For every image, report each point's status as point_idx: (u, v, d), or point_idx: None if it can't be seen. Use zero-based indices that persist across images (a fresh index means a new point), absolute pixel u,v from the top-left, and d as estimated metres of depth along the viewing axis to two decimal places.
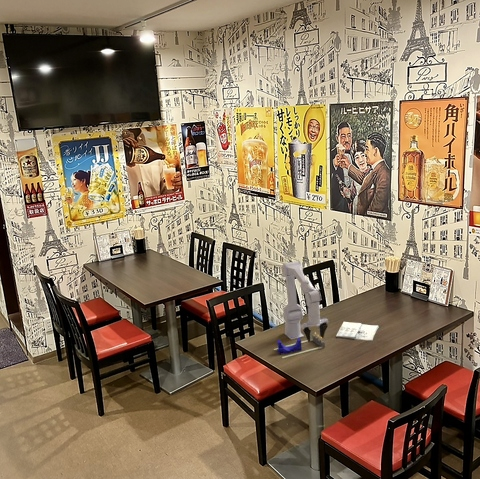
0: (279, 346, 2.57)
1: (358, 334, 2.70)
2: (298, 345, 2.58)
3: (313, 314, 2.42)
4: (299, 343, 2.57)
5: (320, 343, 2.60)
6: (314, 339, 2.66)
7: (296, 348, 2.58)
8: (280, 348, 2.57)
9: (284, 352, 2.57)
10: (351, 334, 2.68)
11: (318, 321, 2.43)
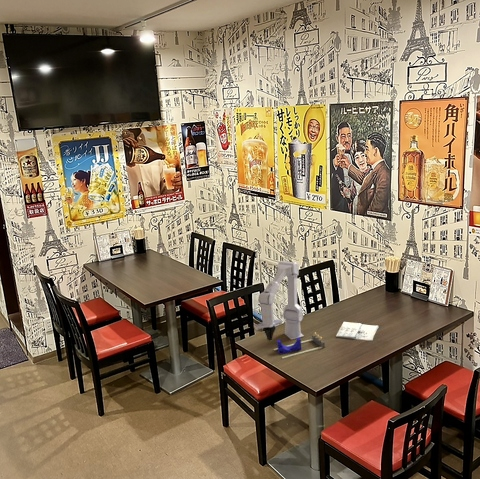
0: (279, 346, 2.58)
1: (358, 334, 2.70)
2: (298, 344, 2.58)
3: (262, 314, 2.48)
4: (299, 342, 2.58)
5: (320, 343, 2.60)
6: (314, 339, 2.66)
7: (296, 347, 2.58)
8: (280, 348, 2.57)
9: (284, 352, 2.57)
10: (351, 334, 2.68)
11: (271, 322, 2.48)
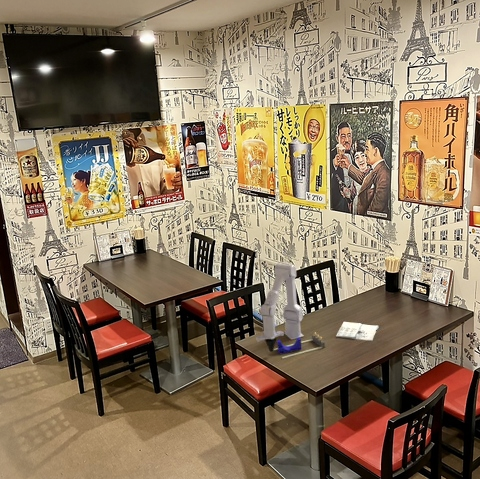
0: (279, 346, 2.58)
1: (358, 334, 2.70)
2: (298, 344, 2.58)
3: (264, 326, 2.50)
4: (299, 342, 2.58)
5: (320, 343, 2.60)
6: (314, 339, 2.66)
7: (296, 347, 2.59)
8: (280, 348, 2.57)
9: (284, 352, 2.57)
10: (351, 334, 2.68)
11: (273, 334, 2.50)
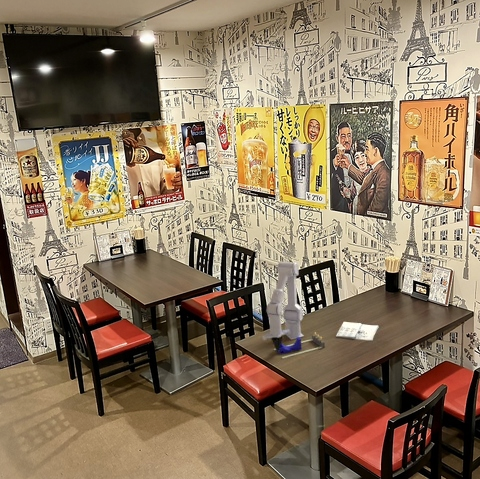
0: None
1: (358, 334, 2.70)
2: (298, 344, 2.59)
3: (270, 325, 2.51)
4: (299, 342, 2.58)
5: (320, 343, 2.60)
6: (314, 339, 2.66)
7: (296, 347, 2.59)
8: (280, 348, 2.57)
9: (284, 351, 2.57)
10: (351, 334, 2.68)
11: (279, 332, 2.51)
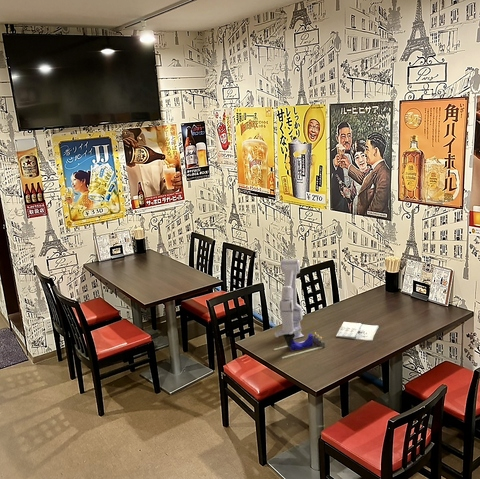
0: None
1: (358, 334, 2.70)
2: (310, 341, 2.61)
3: (284, 322, 2.52)
4: (311, 339, 2.60)
5: (320, 343, 2.60)
6: (314, 339, 2.66)
7: (308, 344, 2.61)
8: (292, 344, 2.59)
9: (296, 348, 2.59)
10: (351, 334, 2.68)
11: (291, 329, 2.53)
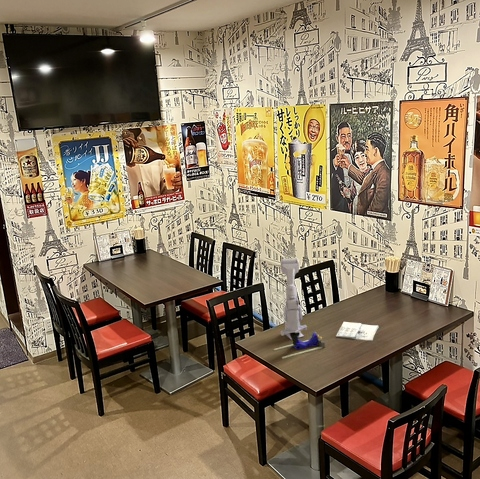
0: None
1: (358, 334, 2.70)
2: (314, 340, 2.61)
3: (290, 321, 2.53)
4: (315, 338, 2.61)
5: (320, 343, 2.60)
6: None
7: (312, 343, 2.62)
8: None
9: (300, 347, 2.60)
10: (351, 334, 2.68)
11: (297, 327, 2.54)
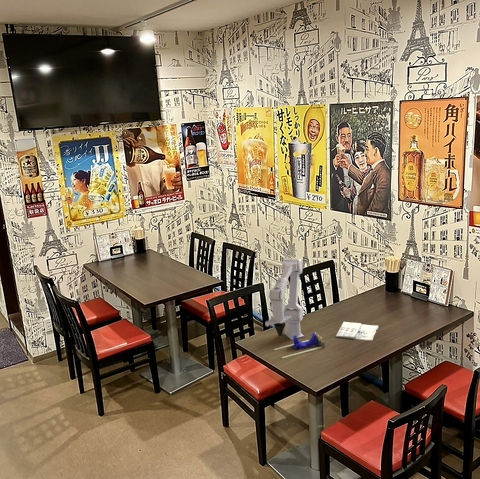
0: (295, 342, 2.61)
1: (358, 334, 2.70)
2: (314, 340, 2.61)
3: (273, 311, 2.51)
4: (315, 338, 2.61)
5: (320, 343, 2.60)
6: None
7: (312, 343, 2.62)
8: (296, 343, 2.60)
9: (300, 347, 2.60)
10: (351, 334, 2.68)
11: (282, 318, 2.52)
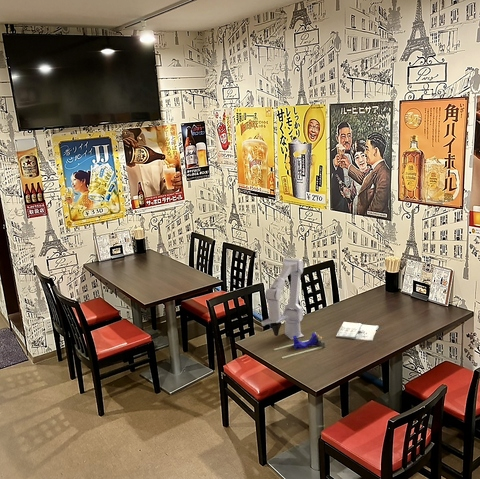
0: (295, 342, 2.61)
1: (358, 334, 2.70)
2: (314, 340, 2.62)
3: (269, 310, 2.52)
4: (315, 338, 2.61)
5: (320, 343, 2.60)
6: None
7: (312, 343, 2.62)
8: (296, 343, 2.60)
9: (300, 347, 2.60)
10: (351, 334, 2.68)
11: (278, 318, 2.53)
